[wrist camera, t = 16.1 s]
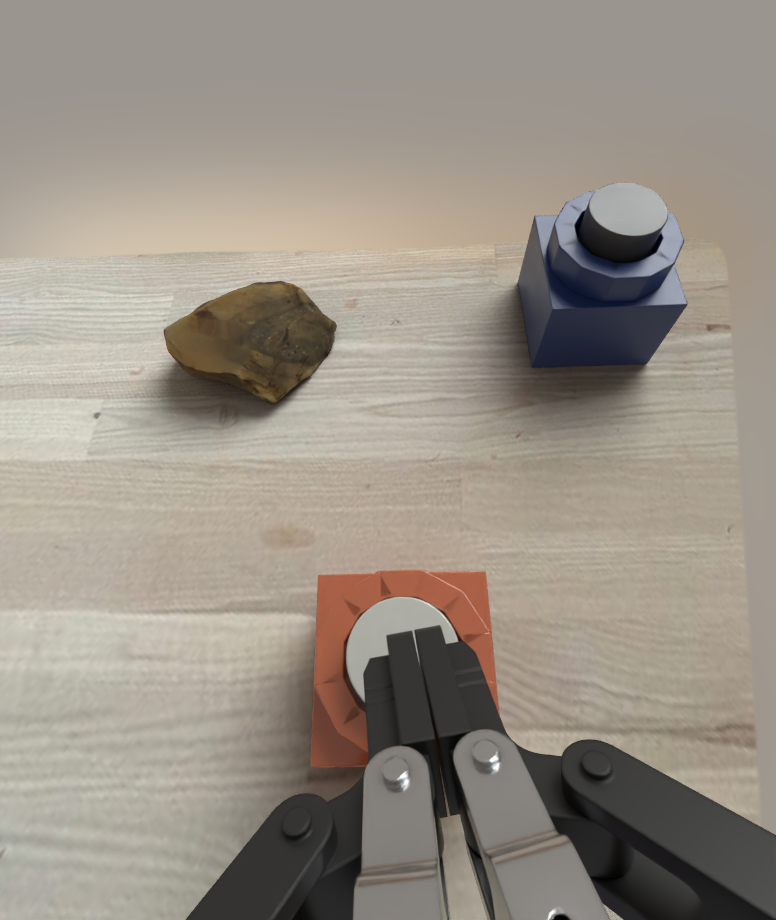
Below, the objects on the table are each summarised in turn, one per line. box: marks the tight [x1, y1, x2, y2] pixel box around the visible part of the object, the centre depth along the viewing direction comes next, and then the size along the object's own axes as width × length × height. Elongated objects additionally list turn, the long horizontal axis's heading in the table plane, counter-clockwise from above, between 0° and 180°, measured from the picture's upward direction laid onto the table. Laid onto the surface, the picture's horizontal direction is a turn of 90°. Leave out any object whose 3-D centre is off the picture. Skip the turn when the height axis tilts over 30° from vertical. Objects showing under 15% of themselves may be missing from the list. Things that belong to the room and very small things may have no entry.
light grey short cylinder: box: [346, 597, 458, 702], centre depth 21 cm, size 4×4×2 cm
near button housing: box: [518, 191, 687, 368], centre depth 35 cm, size 8×8×8 cm
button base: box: [310, 570, 500, 767], centre depth 25 cm, size 8×8×8 cm
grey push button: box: [579, 183, 668, 263], centre depth 31 cm, size 4×4×2 cm
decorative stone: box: [164, 281, 337, 404], centre depth 37 cm, size 10×9×4 cm
